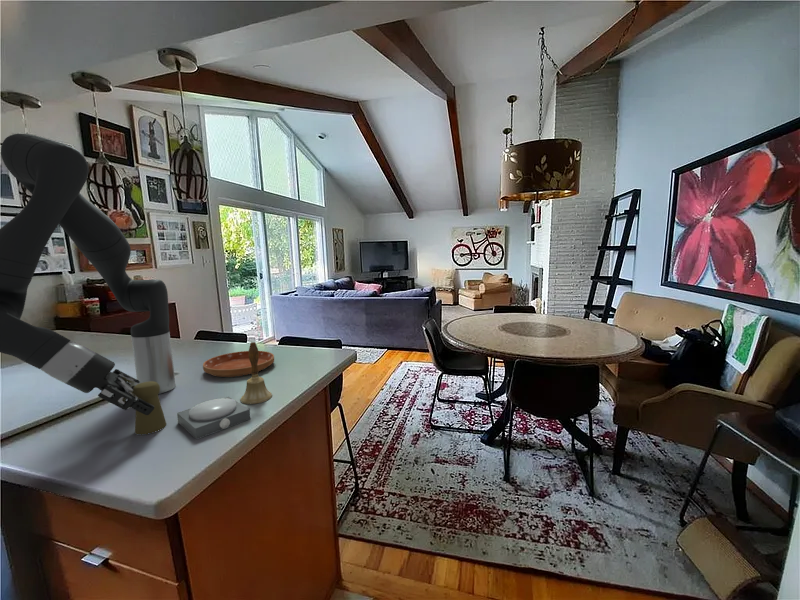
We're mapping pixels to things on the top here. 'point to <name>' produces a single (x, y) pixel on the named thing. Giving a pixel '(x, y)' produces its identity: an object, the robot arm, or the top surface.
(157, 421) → the cork
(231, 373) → the saucer
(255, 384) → the hand bell
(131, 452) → the top surface
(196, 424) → the scale
